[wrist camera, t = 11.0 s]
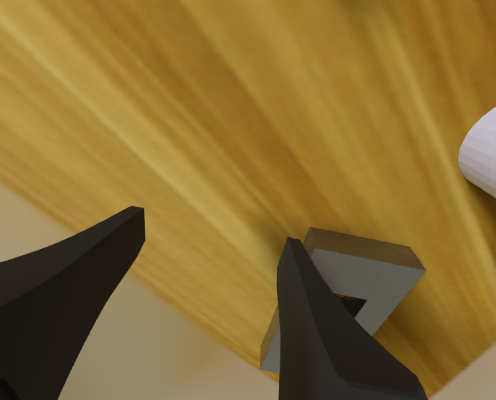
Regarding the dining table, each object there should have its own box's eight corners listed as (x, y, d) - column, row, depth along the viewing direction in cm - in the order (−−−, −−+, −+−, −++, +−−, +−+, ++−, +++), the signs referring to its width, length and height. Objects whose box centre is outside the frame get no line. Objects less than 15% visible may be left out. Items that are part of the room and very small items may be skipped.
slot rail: (409, 247, 24) (426, 270, 21) (328, 358, 35) (333, 382, 33) (310, 226, 24) (315, 248, 21) (260, 346, 35) (260, 369, 32)
